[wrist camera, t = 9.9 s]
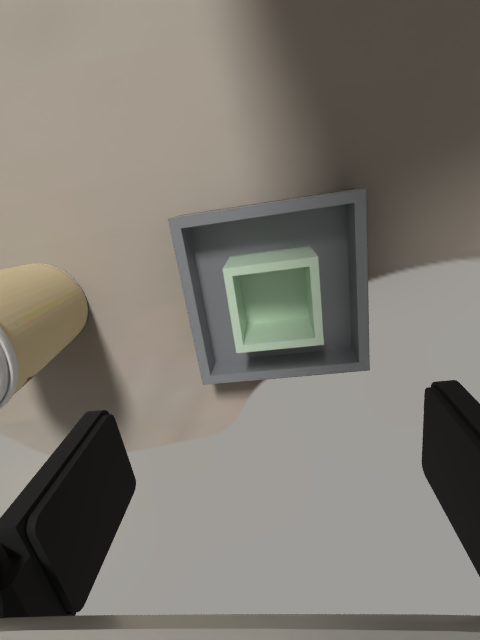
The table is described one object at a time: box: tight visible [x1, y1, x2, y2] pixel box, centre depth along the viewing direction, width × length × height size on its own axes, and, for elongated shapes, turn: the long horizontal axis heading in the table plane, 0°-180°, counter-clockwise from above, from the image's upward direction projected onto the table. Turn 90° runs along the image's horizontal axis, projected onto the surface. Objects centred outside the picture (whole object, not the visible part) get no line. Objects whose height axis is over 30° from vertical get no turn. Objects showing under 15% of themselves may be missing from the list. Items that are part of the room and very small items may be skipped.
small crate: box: [223, 245, 324, 353], centre depth 27 cm, size 6×6×5 cm
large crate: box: [168, 189, 370, 385], centre depth 28 cm, size 14×14×4 cm
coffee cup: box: [0, 263, 88, 409], centre depth 26 cm, size 9×9×12 cm
